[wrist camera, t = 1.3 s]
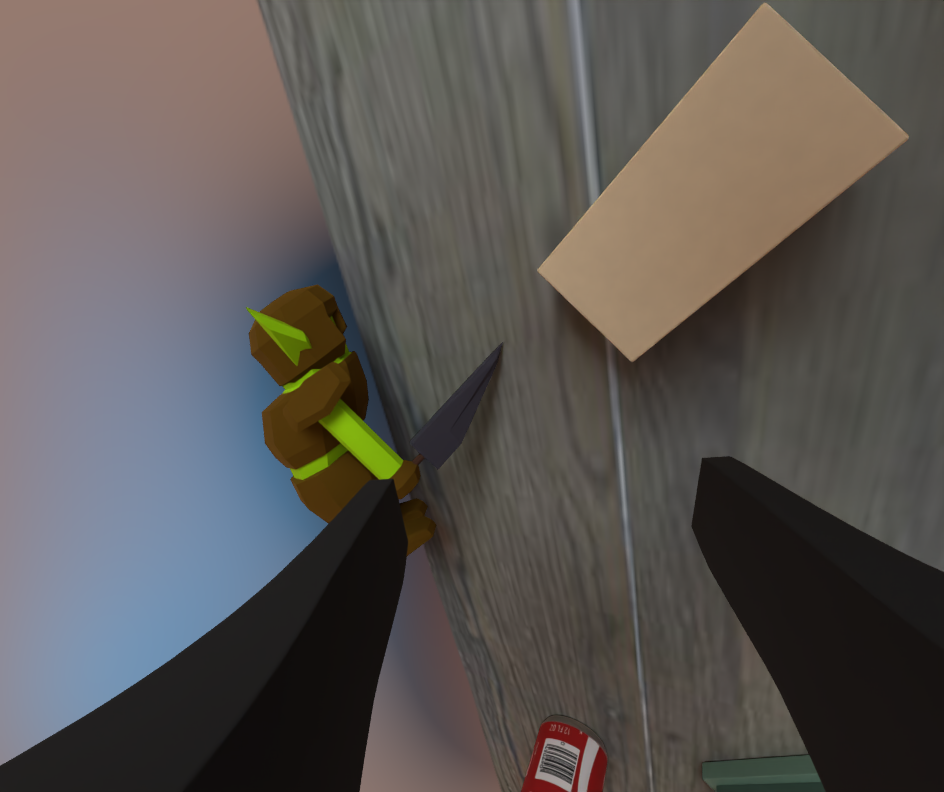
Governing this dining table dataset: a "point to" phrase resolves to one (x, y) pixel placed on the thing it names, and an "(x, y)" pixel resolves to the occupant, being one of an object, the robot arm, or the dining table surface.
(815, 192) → the rectangular block
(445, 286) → the dining table surface
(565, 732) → the soda can
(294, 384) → the goblin
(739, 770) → the green square tray
